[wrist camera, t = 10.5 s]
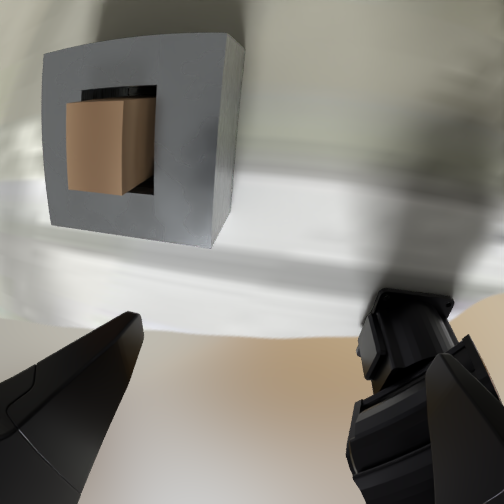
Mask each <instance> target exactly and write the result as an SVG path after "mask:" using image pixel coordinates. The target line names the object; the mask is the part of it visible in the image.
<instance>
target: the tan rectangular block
mask: <svg viewBox="0 0 504 504" xmlns="http://www.w3.org/2000/svg"><path fill="white" fill-rule="evenodd" d="M155 113H156V96H154V95H136V96H123V97H112V98H103V99H94V100H86V101H79V102H72V103H67V105H66V153H67V175H68V189H69V190H78V191H86V192H95V193H104V194H112V195H120V196H122V195H124V194H125V193H127V192H128V191H130V190H131V189H133V188H134V187H136V186H137V185H139V184H140V183H142V182H143V181H145V180H146V179H148V178H149V177H151V176H153V175H154V142H155Z"/></svg>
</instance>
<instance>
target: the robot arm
mask: <svg viewBox="0 0 504 504" xmlns="http://www.w3.org/2000/svg"><path fill="white" fill-rule="evenodd" d="M384 295H388V296H386V297H383V296H384ZM448 302H449V303H448ZM447 303H448V304H447ZM453 306H454V300H453V299H452V297H450V296H444V295H436V294H428V293H420V292H412V291H404V290H396V289H388V288H384V289H382V290H381V291H380V292H379V294H378V296H377V299H376V302H375V304H374V307H373V310H372V312H371V313H370V314H369V315H368V316H367V318H366V320H365V323H364V326H363V328H362V331H361V333H360V335H359V338H358V343H359V345H358V347H357V349H356V352H357V355H358V356H359V357H361V360H362V366H363V372H364V377H365V379H366V380H371V382H372V388H373V394H374V395H372V396H370V397H368V398H366V399H364V400H363V399H361V400H359V401H358V402H356V403H355V405H354V411H353V416H352V421H351V427H350V431H349V436H348V441H347V448H346V458H347V460H348V464H349V467H350V470H351V472H352V474H353V480H354V482H355V483H356V485H357V486H358V488H359V489H360V491H361V493H362V495H363V497H364V499H365V501H366V504H504V406H503V404H502V402H501V399H500V396H499V394H498V391H497V389H496V387H495V385H494V383H493V380H492V378H491V376H490V374H489V372H488V370H487V368H486V366H485V364H484V362H483V360H482V358H481V356H480V354H479V352H478V350H477V348H476V346H475V345H474V343H473V341H472V339H471V337H470V336H469V334H468V335H467V336H465V337H464V338H463V339H462V341H461V342H458V340H457V338H456V336H455V334H454V332H453V330H452V328H451V326H450V324H449V322H448V320H447V318H448V316H449V314H450V312H451V310H452V308H453ZM143 340H144V332H143V325H142V319H141V316H140V314H138V313H134V312H130V311H127V312H125V313H123V314H121V315H119V316H118V317H116V318H114V319H112V320H111V321H109V322H107V323H105V324H104V325H102V326H100V327H98V328H97V329H95V330H93V331H91V332H90V333H88V334H86V335H85V336H83V337H81V338H79V339H78V340H76V341H74V342H72V343H71V344H69V345H67V346H65V347H64V348H62V349H60V350H59V351H57V352H55V353H53V354H52V355H50V356H48V357H46V358H45V359H43V360H41V361H40V362H38V363H37V365H33V366H31V367H29V368H28V369H26V370H24V371H22V372H20V373H19V374H17V375H15V376H13V377H11V378H9V379H7V380H5V381H3V382H1V383H0V504H78V501H79V498H80V496H81V494H80V493H82V490H83V488H84V485H85V483H86V480H87V478H88V475H89V473H90V471H91V468H92V466H93V463H94V461H95V459H96V456H97V454H98V451H99V449H100V447H101V445H102V442H103V440H104V437H105V435H106V433H107V431H108V429H109V426H110V424H111V422H112V419H113V417H114V415H115V413H116V411H117V408H118V406H119V404H120V402H121V400H122V397H123V395H124V393H125V391H126V389H127V386H128V384H129V381H130V378H131V376H132V373H133V369H134V367H135V364H136V360H137V358H138V355H139V352H140V349H141V346H142V343H143Z"/></svg>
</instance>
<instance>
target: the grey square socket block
mask: <svg viewBox="0 0 504 504" xmlns="http://www.w3.org/2000/svg"><path fill="white" fill-rule="evenodd" d="M244 55H245V49H244V48H243V47H242V46H241V45H240V44H239V43H238V42H237V41H236V40H235V39H234V38H232V37H231V36H230V35H229V34H228V33H175V34H159V35H147V36H137V37H129V38H121V39H114V40H108V41H101V42H96V43H90V44H85V45H80V46H75V47H71V48H66V49H62V50H58V51H54V52H50V53H46V54H44V58H43V73H42V145H43V160H44V172H45V182H46V191H47V199H48V206H49V213H50V220H51V225H55V226H61V227H68V228H75V229H81V230H88V231H95V232H101V233H108V234H115V235H122V236H128V237H135V238H142V239H148V240H155V241H162V242H169V243H175V244H182V245H189V246H196V247H202V248H209V249H211V248H212V246H213V244H214V242H215V240H216V238H217V236H218V234H219V232H220V231H221V229H222V227H223V225H224V223H225V221H226V219H227V217H228V215H229V213H230V208H231V195H232V183H233V171H234V159H235V147H236V136H237V125H238V114H239V104H240V94H241V84H242V74H243V64H244ZM153 86H157V95H156V113H155V142H154V175H153V176H151V177H149V178H148V179H146V180H145V181H143V182H142V183H140V184H139V185H137V186H136V187H134V188H133V189H131V190H130V191H128V192H127V193H125V194H124V195H122V196H120V195H112V194H104V193H95V192H86V191H78V190H69V189H68V175H67V153H66V105H67V103H72V102H79V101H86V100H94V99H103V98H112V97H123V96H128V87H153Z"/></svg>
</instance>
